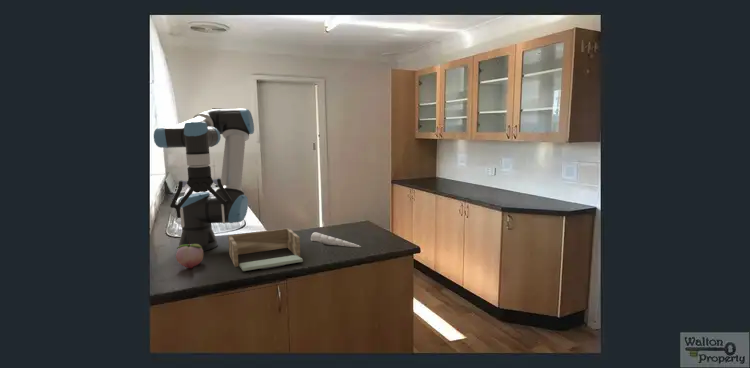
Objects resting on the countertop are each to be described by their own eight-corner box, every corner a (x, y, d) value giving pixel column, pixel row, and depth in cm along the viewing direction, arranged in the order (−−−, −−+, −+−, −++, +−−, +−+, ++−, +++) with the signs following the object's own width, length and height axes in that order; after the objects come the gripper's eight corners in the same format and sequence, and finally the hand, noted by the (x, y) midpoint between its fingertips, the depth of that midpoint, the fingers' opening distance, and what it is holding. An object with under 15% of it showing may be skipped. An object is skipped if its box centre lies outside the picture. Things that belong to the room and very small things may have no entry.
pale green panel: (239, 263, 149) (242, 268, 141) (296, 254, 158) (302, 258, 150) (239, 267, 149) (243, 272, 141) (296, 258, 158) (302, 263, 150)
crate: (229, 257, 162) (228, 235, 161) (289, 249, 173) (288, 228, 172) (235, 270, 148) (233, 245, 147) (300, 259, 159) (299, 237, 157)
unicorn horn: (357, 250, 170) (356, 239, 170) (309, 244, 181) (309, 233, 181) (362, 247, 175) (362, 236, 174) (316, 241, 185) (315, 231, 185)
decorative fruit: (207, 263, 156) (205, 237, 154) (201, 271, 148) (199, 243, 146) (181, 265, 154) (179, 239, 153) (174, 272, 146) (171, 245, 145)
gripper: (235, 163, 153) (239, 218, 156) (160, 166, 144) (166, 225, 148) (236, 165, 146) (240, 223, 150) (157, 169, 138) (163, 230, 141)
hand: (203, 224), depth 149 cm, fingers open, 13 cm apart
